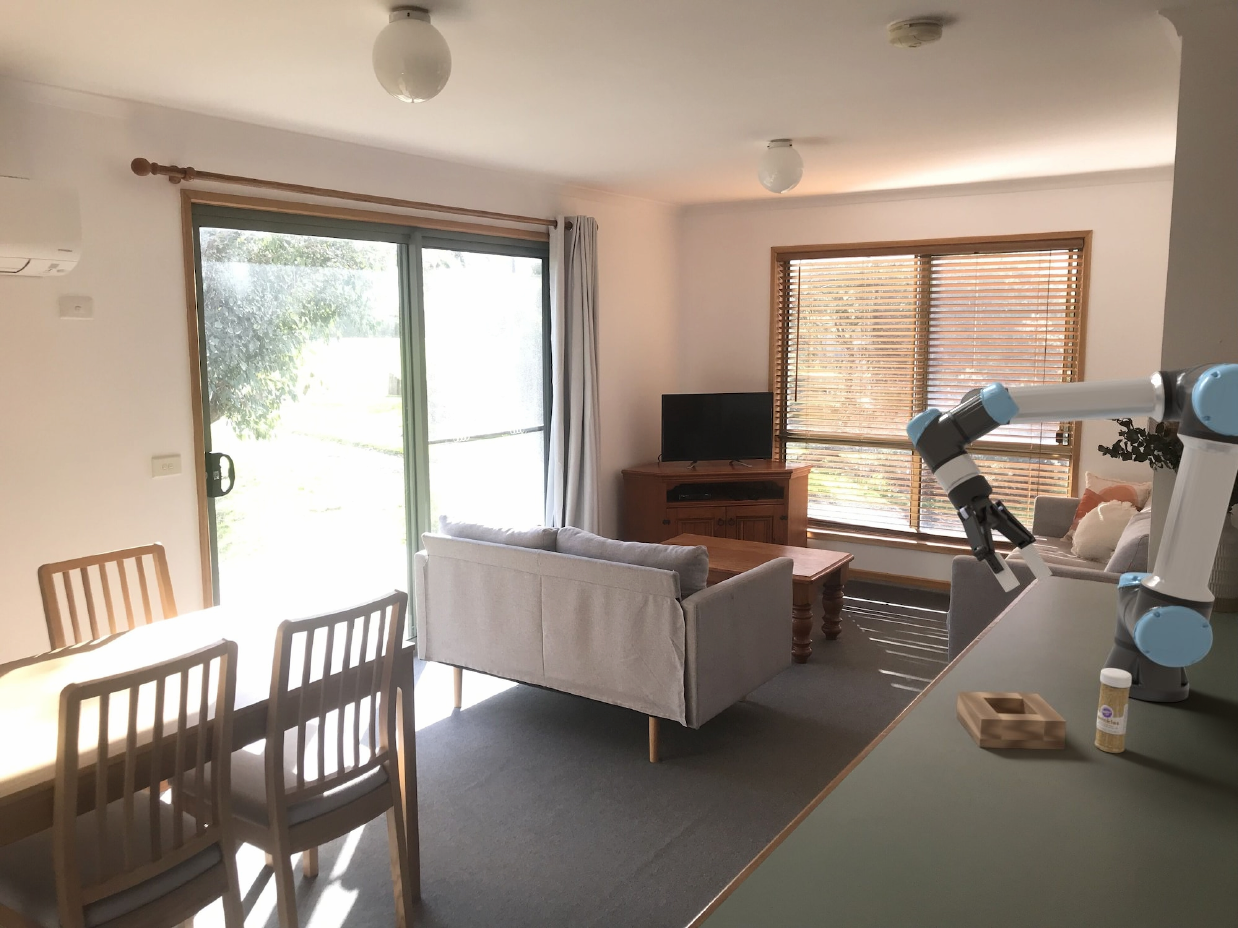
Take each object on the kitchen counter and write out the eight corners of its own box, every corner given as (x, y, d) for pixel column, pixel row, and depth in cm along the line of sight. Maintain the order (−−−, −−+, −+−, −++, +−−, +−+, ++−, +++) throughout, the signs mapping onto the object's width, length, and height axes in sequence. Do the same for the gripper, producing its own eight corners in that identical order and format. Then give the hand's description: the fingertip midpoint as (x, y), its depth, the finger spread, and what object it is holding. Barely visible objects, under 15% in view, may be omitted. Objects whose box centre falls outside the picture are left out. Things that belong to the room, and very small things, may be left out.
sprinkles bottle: (1091, 748, 154) (1097, 672, 153) (1098, 739, 158) (1104, 664, 156) (1121, 756, 152) (1128, 678, 150) (1127, 747, 155) (1134, 671, 153)
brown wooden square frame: (1034, 719, 166) (1036, 693, 165) (1063, 749, 154) (1066, 721, 153) (956, 717, 166) (958, 691, 166) (979, 747, 155) (981, 718, 154)
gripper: (979, 490, 183) (1041, 583, 175) (914, 499, 166) (980, 603, 158) (1009, 469, 178) (1075, 564, 170) (946, 476, 161) (1016, 582, 153)
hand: (1030, 583), depth 164 cm, fingers open, 13 cm apart
